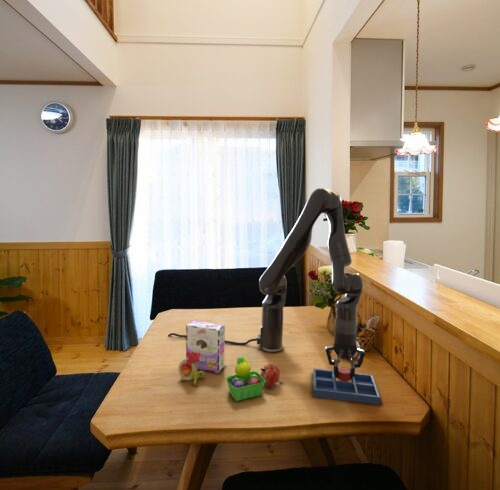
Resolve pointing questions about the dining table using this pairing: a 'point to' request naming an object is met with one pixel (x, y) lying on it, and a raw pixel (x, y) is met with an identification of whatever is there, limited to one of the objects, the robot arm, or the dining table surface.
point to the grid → (345, 387)
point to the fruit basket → (245, 381)
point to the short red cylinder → (344, 374)
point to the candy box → (206, 344)
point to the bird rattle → (190, 367)
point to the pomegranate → (270, 375)
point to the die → (357, 347)
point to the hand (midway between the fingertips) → (343, 376)
